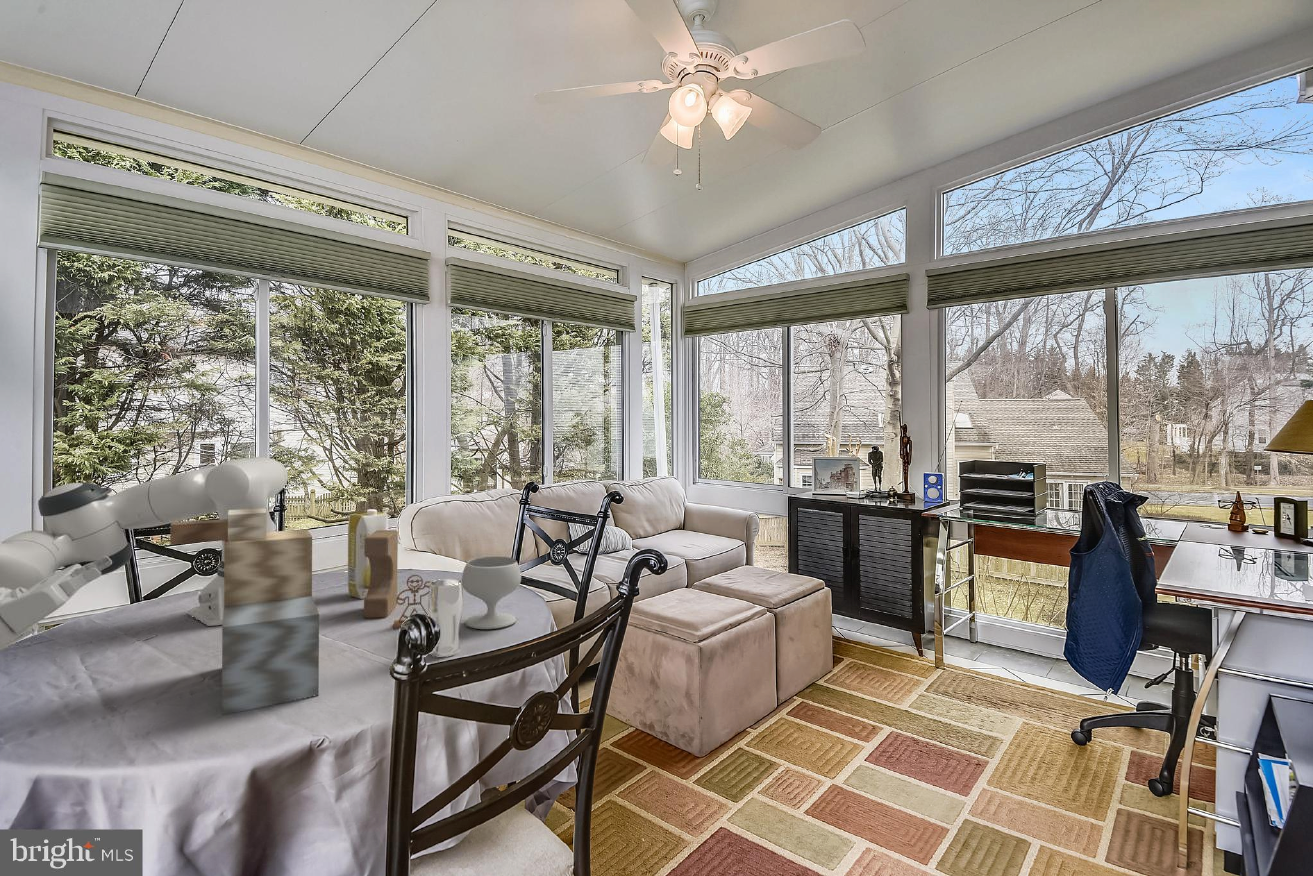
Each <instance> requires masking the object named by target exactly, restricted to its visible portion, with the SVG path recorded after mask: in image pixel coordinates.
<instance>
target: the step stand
mask: <svg viewBox="0 0 1313 876" xmlns="http://www.w3.org/2000/svg"><path fill="white" fill-rule="evenodd" d="M312 595H313V536H312V534H311V532H310V531H309V529H291V530H281V531H280V530H278V531H275V532H266V539H261V540H247V541H234V542H228V540H226V541H225V543H224V614H223V624H222V625H221V627H222V629H221V633H222V635H221V647H222V648H221V650H222V651H221V652H222V653H221V654H222V655H221V715H222V716H223V715H228V714H234V713H238V712H244V711H249V710H254V709H258V708H264V707H268V706H273V705H278V703H279V704H283V703H287V702H286V701H289V702H293V701H292V700H294V701H296V700H295V699H299V700H303V699H302V698H304V699H306V698H305V697H309V698H312V697H311V696H314V695H319V693H320V692H319V688H320V687H319V683H320V682H319V679H320V678H319V675H320V674H319V672H320V671H319V669H320V667H319V665H320V661H319V660H320V613H319V611H318V608H317V605H316V603H315V601H314V598H313V596H312ZM314 697H315V696H314Z"/></svg>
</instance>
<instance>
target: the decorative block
mask: <svg viewBox="0 0 1313 876" xmlns="http://www.w3.org/2000/svg"><path fill="white" fill-rule="evenodd" d="M398 536H399V533H398V530H397V529H396V530H395V529H391V530H390V529H388V530H377V531H375V532H374V533H372V534H371V535H369V536H368V537H366V538H365V549H364V556H365V557H368V559H369V562H370V584H369V589H368V593H367V596H366V598H365V599H363V617H364V619H381V618H383V617H386V618H387V617H388V616H389V615H390V614H391V613H392V611H393V610H394V609H395V608H396V606H397V605H398V604H397V601H396V600H397V596H398V559H399V558H398V554H399V553H398V551H399V548H398V545H399V544H398V542H399V537H398ZM383 619H384V618H383Z"/></svg>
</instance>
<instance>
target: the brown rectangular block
mask: <svg viewBox="0 0 1313 876" xmlns="http://www.w3.org/2000/svg"><path fill="white" fill-rule="evenodd" d="M266 516H267V513H266V509H265V508H260V509H241V510H229V511H228V519H221V520H220V519H207V520H190V521H177V522H172V523H170V525H169V527H170V530H169V531H170V533H169V534H170V535H169V541H170V542H169V543H170V544H169V545H171V546H172V545H181V544H182V545H183V544H195V543H196V544H197V543H211V542H222V541H226V540H228V542H234V541H247V540H261V539H266Z"/></svg>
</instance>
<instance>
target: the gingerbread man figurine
mask: <svg viewBox="0 0 1313 876" xmlns="http://www.w3.org/2000/svg"><path fill="white" fill-rule="evenodd" d="M413 577H418V578H420V580H419V579H416V580H414V579H411V578H413ZM410 579H411V580H410ZM420 582H421V583H420ZM430 582H431V581H430V580H427V581H425V582H424V580H423V577H422V576H421V575H419V574H411V575H410V576H409V577H408V578H407V580H406V586H407V588H408V589H407V588H406V589H403V590H402V591H401V592H399V593H398V594H397V600H396V601H397V605H399V606H402V605H404V604H405V603H406V599H407V606H406V607H405V609H404V611H403V612H402V615H401V616H400V617H399V619H394V620H393V628H395V629H394V630H399V628H401V625H402V623H403V622H404V621H405V620H406V619H408V617H410V616H411V617H412V615H413V614H414V612H415V613H416V614H417V613H418V614H419V612H418V611H417V609H416V607H414V608H413V610H412V611H411V613H410V614H409V616H407V615H406V612H407V610H408V608H409V607H410V606H421V608H422V610H423V611H424V613H426V614H427V615H429V613H428V612H427V611H426V609H425V608H424V606H423V605H422V597H425V596H427V595H429V590H428V591H427V592H426V593H423V594H420V595H419V602H416V601H417V599H416V596H417V594H419V591H420V590H421V591H422V590H424V589H425V588H427V589H429V588H430V585H428V583H429V584H430ZM414 583H416V584H417V585H412V584H414ZM423 583H424V584H423ZM404 592H410V594H412V595H413V596H412V597H413V600H412V601H413V602H411V603H410V596H409V595H407V596H405V597H404V598H402V597H400V596H401V595H402V594H403V593H404ZM399 601H401V602H399ZM426 614H425V615H426ZM427 615H426V616H427ZM411 617H410V618H411ZM402 618H403V619H402ZM401 629H402V628H401Z"/></svg>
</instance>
